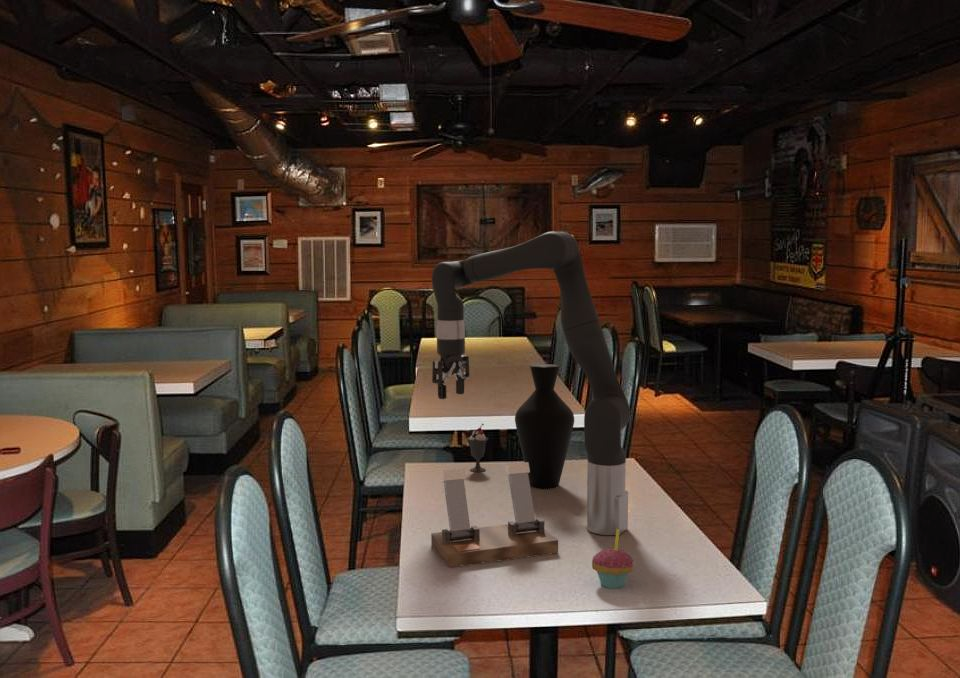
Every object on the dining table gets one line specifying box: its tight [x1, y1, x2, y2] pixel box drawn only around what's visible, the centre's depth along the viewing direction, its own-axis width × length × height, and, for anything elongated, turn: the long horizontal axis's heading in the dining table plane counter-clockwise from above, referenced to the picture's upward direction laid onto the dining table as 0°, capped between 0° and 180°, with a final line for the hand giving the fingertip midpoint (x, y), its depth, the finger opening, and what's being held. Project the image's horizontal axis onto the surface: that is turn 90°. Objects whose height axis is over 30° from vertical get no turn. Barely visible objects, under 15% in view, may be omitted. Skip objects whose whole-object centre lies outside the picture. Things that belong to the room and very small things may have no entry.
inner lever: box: [504, 462, 539, 533], centre depth 196 cm, size 5×2×16 cm, turn 109°
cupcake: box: [591, 525, 634, 589], centre depth 171 cm, size 9×8×12 cm
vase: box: [514, 363, 575, 490], centre depth 240 cm, size 17×17×35 cm
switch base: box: [430, 517, 559, 568], centre depth 191 cm, size 26×14×6 cm, turn 109°
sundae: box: [466, 423, 490, 473], centre depth 257 cm, size 7×7×15 cm
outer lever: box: [439, 467, 473, 541], centre depth 190 cm, size 5×2×16 cm, turn 109°
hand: (451, 396), depth 224 cm, fingers open, 8 cm apart
